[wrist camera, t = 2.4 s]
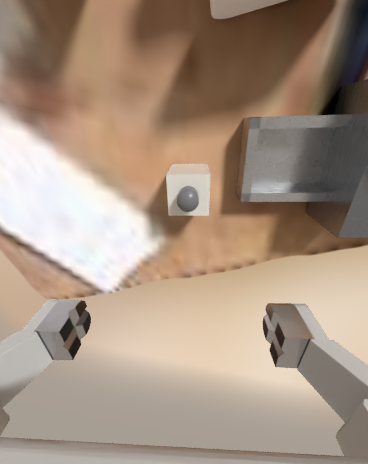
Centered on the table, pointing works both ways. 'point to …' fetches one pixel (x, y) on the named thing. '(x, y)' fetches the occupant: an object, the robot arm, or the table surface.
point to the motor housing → (312, 162)
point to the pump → (188, 189)
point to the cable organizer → (237, 7)
